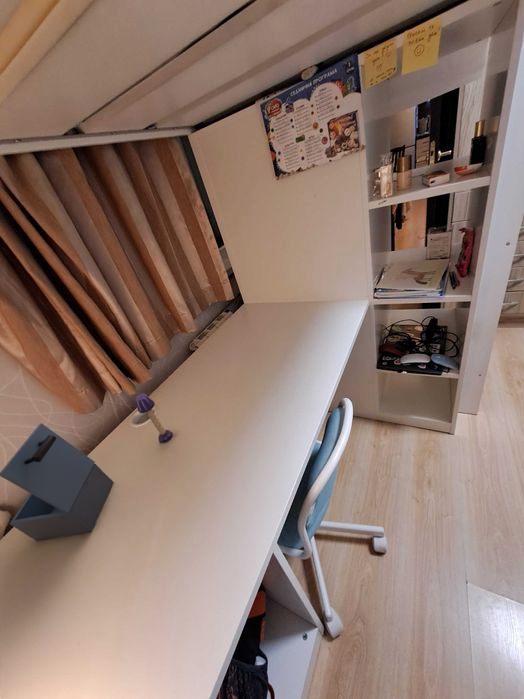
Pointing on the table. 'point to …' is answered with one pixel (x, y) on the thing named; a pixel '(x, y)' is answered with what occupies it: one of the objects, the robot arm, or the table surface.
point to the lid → (49, 468)
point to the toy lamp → (152, 416)
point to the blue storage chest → (52, 522)
